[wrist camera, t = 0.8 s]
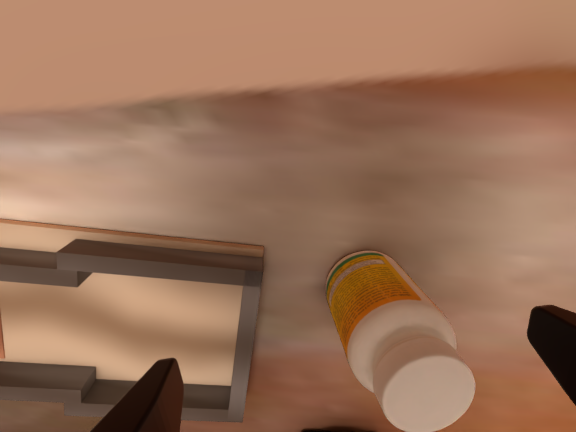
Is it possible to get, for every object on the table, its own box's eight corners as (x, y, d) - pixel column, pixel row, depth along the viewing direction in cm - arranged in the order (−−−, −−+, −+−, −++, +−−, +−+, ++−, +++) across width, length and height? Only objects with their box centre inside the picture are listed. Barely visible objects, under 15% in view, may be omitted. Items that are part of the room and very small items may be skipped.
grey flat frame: (243, 396, 25) (241, 428, 22) (-92, 380, 22) (-137, 414, 20) (263, 246, 21) (264, 263, 19) (-129, 205, 19) (-187, 219, 16)
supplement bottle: (415, 269, 23) (520, 372, 14) (372, 329, 24) (442, 462, 15) (350, 234, 22) (417, 321, 13) (308, 299, 23) (341, 423, 14)
